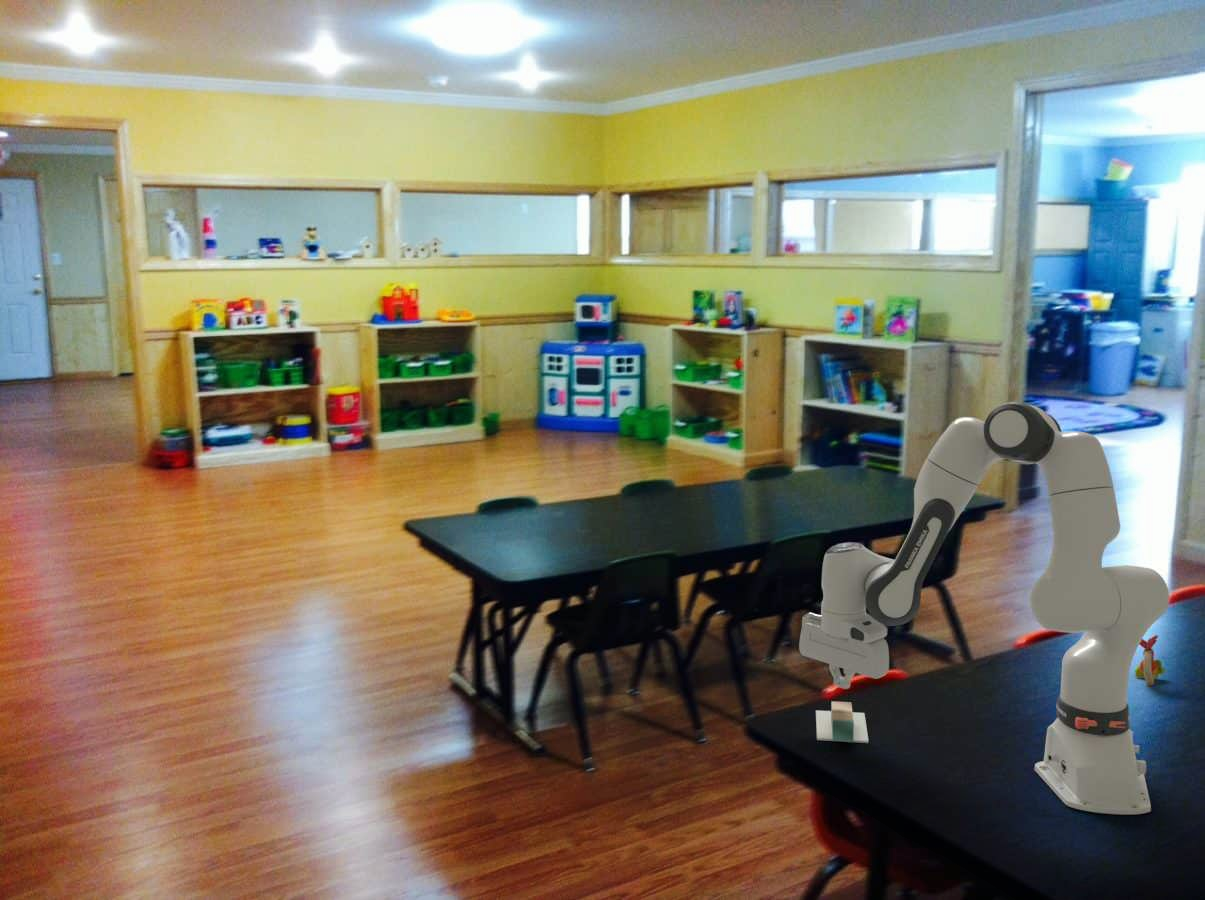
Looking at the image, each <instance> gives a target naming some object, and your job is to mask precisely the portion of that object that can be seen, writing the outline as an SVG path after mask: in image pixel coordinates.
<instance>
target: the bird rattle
mask: <svg viewBox="0 0 1205 900" xmlns="http://www.w3.org/2000/svg"><path fill="white" fill-rule="evenodd" d="M1158 638H1159V635H1158V634H1157V635H1154V636H1153V637H1151V638H1148V640H1147V641H1146V640H1145V639H1144V638H1142V640H1141V642H1140V643H1139V646H1141V647H1142V648H1143V649H1144V650H1143V652H1142V656H1143V658H1142V659H1143V660H1141V661H1140V663H1139V664H1138V665H1137V667H1136V668H1135V669H1134V673H1135V677H1136V678H1137V679H1139V680H1140V679H1143V678H1144V680H1145V683H1146V686H1149V687H1151V686H1152V687H1153V685H1154V684H1155V682H1154V681H1155V680H1158V678H1159V675H1164V674H1165V672H1166V669H1165V668H1164V667H1163V664H1162V661H1161V660H1160V659H1158V658H1156V659H1155V657H1154V656H1155V652H1154V649H1152V648H1153V646H1154V645H1155V644H1156V643H1157V639H1158Z"/></svg>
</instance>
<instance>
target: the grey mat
mask: <svg viewBox="0 0 1205 900" xmlns="http://www.w3.org/2000/svg"><path fill="white" fill-rule="evenodd" d="M852 712H853V721H854V729H853V741H841V740H833V739H832V725H831V710H815V722H816V725H815V726H816V740H817V741H824V742H825V741H827V742H828V741H830V742H844V743H845V742H846V743H860V744H861V743H862V744H869V736H868V735H869V734H868V729H867V721H866V716H865V715H866V714H865V712H854V711H852Z"/></svg>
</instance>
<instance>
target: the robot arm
mask: <svg viewBox="0 0 1205 900" xmlns="http://www.w3.org/2000/svg"><path fill="white" fill-rule="evenodd" d="M1001 460H1002V461H1006V462H1007V461H1008V462H1011V463H1015V464H1020V465H1029V466H1037V465H1038V466H1039V467H1040V469H1041V470H1042V472H1043V474H1044V478H1045V482H1046V488H1047V494H1048V500H1049V501H1048V502H1049V507H1050V513H1051V521H1052V523H1051V524H1052V531H1053V545H1052V548H1051V549H1052V550H1051V553H1050V558H1049V561H1048V563H1047V566H1046V568H1045V569H1044V571H1043V573H1042V574H1041V575H1040V576H1039V578H1038V579H1037V580H1036V581H1035V582H1034V583H1033V585H1032V587H1031V590H1030V592H1029V593H1030V594H1029V601H1028V602H1029V607H1030V612H1031V614H1032V616H1033V618H1034V619H1035V621H1036V622H1037V623H1038V624H1039V625H1040V626H1041V627H1042V628H1044V629H1046V630H1047V631H1052V632H1059V633H1069V634H1070V633H1071V634H1072V633H1073V634H1076V633H1083V635H1081V637H1080V638H1079V640H1077V642H1076V643H1074V645H1071V647H1069V648H1068V650H1066V652H1065V653H1064V654H1063V658H1062V661H1061V678H1060V679H1061V680H1060V693H1059V694H1058V696H1057V701H1056V708H1055V709H1056V716H1057V717H1056V719H1055V720H1054V722H1052V723H1051V724H1050V725H1049V726H1048V727H1047V730H1046V737H1045V746H1044V756H1043V761H1039V762H1036V763H1035V764H1034V772H1036V773H1037V774H1038V776H1039V777H1040V778H1041V779H1042V780H1043V781H1044V783H1046V785H1047V786H1049V788H1050V789H1051V790H1052V791H1053V792H1054V793H1055V795H1056V796H1057V797H1058V798H1059V799H1060V800H1061V802H1063V803H1064V805H1065V806H1067V807H1068V808H1069V807H1070V808H1073V809H1076V810H1080V811H1085V812H1090V813H1091V812H1092V813H1097V814H1109V815H1142V814H1147V813H1150V812H1151V811H1152V806H1151V804H1152V803H1151V800H1150V796H1149V791H1148V786H1147V782H1146V777H1145V775H1146V772H1147V761H1146V760H1144V759H1137V757H1136V754H1139V753H1140V745H1136V744H1135V743H1134V739H1133V738H1134V731H1133V730H1131V729H1130V728H1131V727H1130V718H1131V716H1130V715H1131V714H1130V706H1129V704H1128V703H1127V701H1128V689H1129V680H1130V671H1131V667H1132V661H1133V659H1134V656H1135V654H1136V652H1137V649H1138V647H1139V646H1140V644H1139V643H1140V642H1141V640H1142V639H1144V638H1143V637H1144V636H1145V635H1146V633H1147V632H1148V631H1149V629H1150V628H1151V626H1153V624H1154V623H1156V621H1158V620H1159V619H1160V618H1162V617H1163V616H1164V615H1165V614H1166V612H1167V609H1168V607H1169V603H1170V592H1169V588H1168V586H1167V585H1168V584H1167V583H1166V581H1165V579H1164V577H1162V575H1161V574H1160V573H1159V572H1157V571H1156V570H1155V569H1152V568H1150V567H1143V566H1137V565H1136V566H1135V565H1127V564H1125V565H1123V564H1122V565H1114V566H1103V565H1102V563H1103V557H1104V556H1103V555H1104V552H1105V550H1106V547H1107V546H1108V545H1109V544H1110V543H1112V542H1113V541H1114V540H1115V539H1116V538H1117V537H1118V536H1119V533H1120V531H1121V522H1120V516H1119V515H1120V514H1119V510H1118V503H1117V499H1116V493H1115V488H1114V481H1113V477H1112V473H1111V470H1110V466H1109V463H1108V460H1107V456H1106V454H1105V452H1104V449H1103V446H1102V444H1101V442H1100V441H1099V439H1098V438H1097V437H1096V436H1095V435H1094V434H1091V433H1087V432H1083V431H1068V432H1067V431H1066V432H1063V431H1062V429H1061V427H1060V425H1059V422H1058V421H1057V420H1056V419H1055V418H1054V417H1053V416H1052V415H1051V414H1049V413H1047V412H1045V411H1044V410H1043V409H1042V408H1040V407H1038V406H1036V405H1032V404H1028V403H1025V402H1021V401H1011V402H1010V401H1009V402H1005V403H1001V404H1000V405H998V406H997V407H995V408H993V409H992V410H991V412H990V413H988V414H987V417H986V419H985V420H981V419H979V418H976V417H972V416H963V417H958V418H956V419H955V420H953V421H952V422H951V423H950V425H949V426H947V428H946V429H945V430H944V431H943V432H942V434H941V436H940V437H939V439H938V440H937V441H936V442H935V444H934V446H933V447H932V448H931V450H930V452H929V453H928V456H927V458H925V460H924V462H923V465H922V466H921V469H920V471H919V474H918V476H917V479H916V482H915V485H914V488H913V501H914V505H913V506H914V507H913V510H914V511H913V519H912V523H911V527H910V529H909V531H908V534H907V536H906V538H905V540H904V542H903V543H902V546H901V548H900V549H899V552H898V553H897V555H896V557H895V559H894V558H889V557H886V556H883V555H879V554H878V553H875V552H873V551H871V550H870V549H869V548H867V547H865V545H863V544H862V543H860V542H859V543H858V542H854V541H853V542H852V541H847V542H842V543H837V544H835V545H833V546H831V547H829V548H828V549H827V550H826V552H825V554H824V557H823V561H822V569H821V590H822V594H823V595H822V596H823V598H822V602H821V603H820V604H821V605H820V607H821V608H820V609H821V611H820V614H816V613H814V612H808V613H805V614H804V615H803V616H802V619H801V631H800V637H799V645H798V647H799V648H798V649H799V652H800V654H801V655H802V656H803V657H807V658H810V659H812V660H816V661H818V662H821V663H826V664H828V669H829V671H830V673H831V676H832V678H833V685H834V687H838V688H841V689H844V690H848V689H850V687H851V680H852V679H853V677H854V676H855V674H859V675H862V676H866V677H868V678H872V679H875V680H877V679H880V678H883V677H884V676H886V675H887V674H888V673H889V669H890V651H889V645H888V642H887V640H886V639H885V637H887V635H888V627H886V626H889V627H890V626H891V627H895V626H896V627H897V626H902V625H905V624H907V623H908V622H911V621H912V620H913V619H914V618H915V617H916V615H917V614H918V613H919V609H920V606H921V596H922V588H923V583H924V580H925V579H926V576H927V574H928V572H929V570H930V569H931V566H932V564H933V562H934V560H935V558H936V557H937V555H938V553H939V550H940V549H941V547H942V545H943V543H944V541H945V539H946V537H947V535H948V533H949V532H950V530H951V529H952V528H953V526H954V524H955V523H956V521H957V520H958V518H959V517H960V515H961V514H962V513H963V511H964V509H965V508H966V507H967V505H968V504H969V502H970V501H971V499H972V498H973V497H974V494H975V492H977V489H978V488H979V486H980V484H981V483H982V481H983V480H984V478H985V475H986V474H987V472H988V470H989V469H990V468H991V467H992V466H993V464H994V463H996V462H999V461H1001ZM866 609H867V610H866ZM867 612H868V613H867ZM840 669H843V673H844V674H845V675H844V676H843V675H842V673H841V671H840Z"/></svg>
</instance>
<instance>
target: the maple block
mask: <svg viewBox="0 0 1205 900" xmlns="http://www.w3.org/2000/svg"><path fill="white" fill-rule="evenodd" d="M830 707H831V708H830V711H831V725H832V739H833V740H841V741H840V742H842V741H853V729H854V721H853V712H854V711H853V704H852V702H850V701H849V702H848V701H832V700H831V706H830Z"/></svg>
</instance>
